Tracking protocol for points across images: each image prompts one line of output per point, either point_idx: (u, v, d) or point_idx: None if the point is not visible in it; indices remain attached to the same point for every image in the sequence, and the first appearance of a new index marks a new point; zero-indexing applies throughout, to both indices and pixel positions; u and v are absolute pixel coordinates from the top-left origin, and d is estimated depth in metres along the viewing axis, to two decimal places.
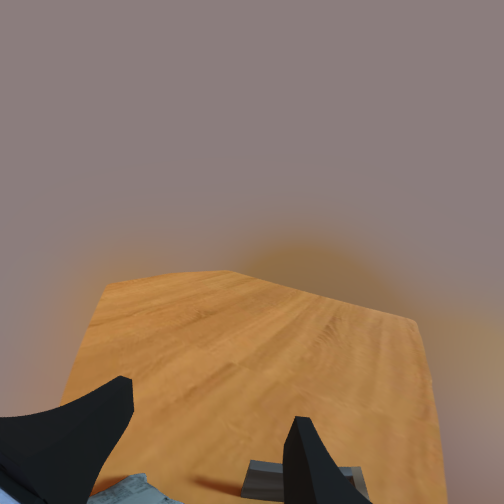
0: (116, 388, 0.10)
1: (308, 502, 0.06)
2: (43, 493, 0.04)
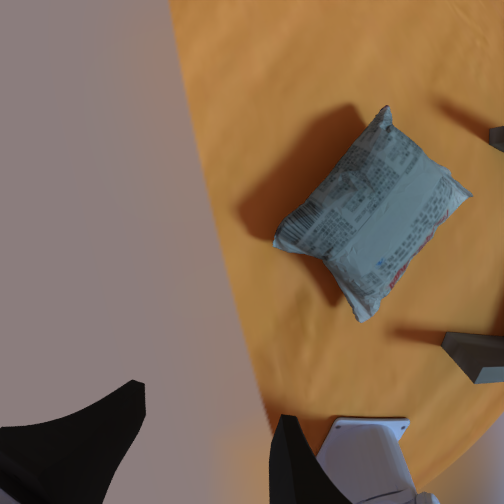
0: (129, 393, 0.10)
1: (289, 501, 0.06)
2: (60, 503, 0.04)
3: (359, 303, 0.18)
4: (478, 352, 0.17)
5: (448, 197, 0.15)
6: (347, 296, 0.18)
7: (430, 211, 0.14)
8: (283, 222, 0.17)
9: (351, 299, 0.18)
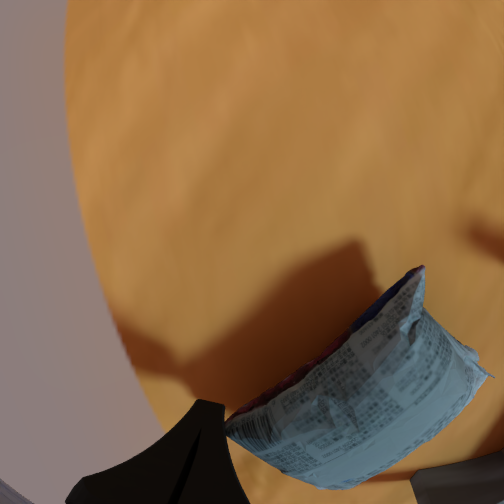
0: (202, 414, 0.10)
1: None
2: None
3: None
4: (443, 501, 0.11)
5: (462, 406, 0.09)
6: None
7: (430, 434, 0.09)
8: (229, 429, 0.11)
9: None
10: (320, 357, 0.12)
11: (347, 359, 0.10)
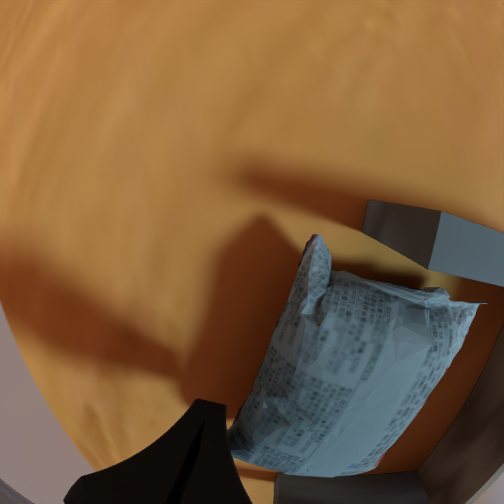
0: (201, 414, 0.10)
1: None
2: None
3: None
4: None
5: (445, 355, 0.09)
6: None
7: (414, 399, 0.09)
8: None
9: None
10: None
11: (273, 357, 0.10)
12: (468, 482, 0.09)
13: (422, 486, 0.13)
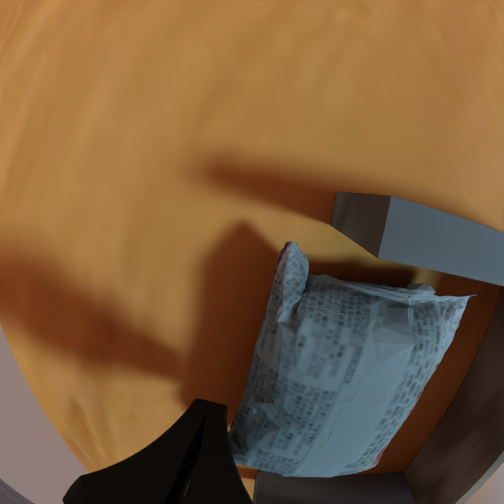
0: (200, 413, 0.10)
1: None
2: None
3: None
4: None
5: (433, 352, 0.09)
6: None
7: (403, 398, 0.09)
8: None
9: None
10: None
11: (257, 364, 0.10)
12: (453, 486, 0.09)
13: (407, 489, 0.13)
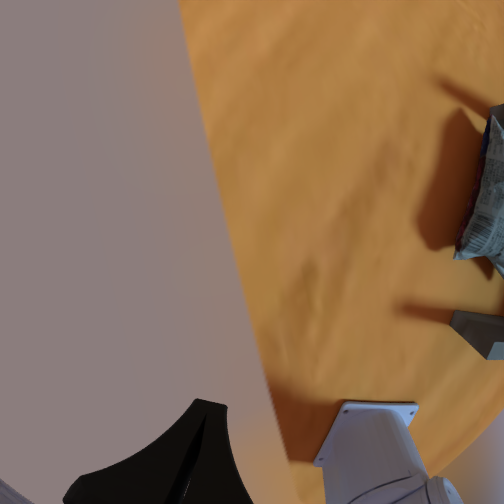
0: (200, 414, 0.10)
1: None
2: None
3: None
4: (488, 329, 0.16)
5: None
6: None
7: None
8: (467, 238, 0.16)
9: None
10: (477, 181, 0.17)
11: (493, 163, 0.14)
12: None
13: None
